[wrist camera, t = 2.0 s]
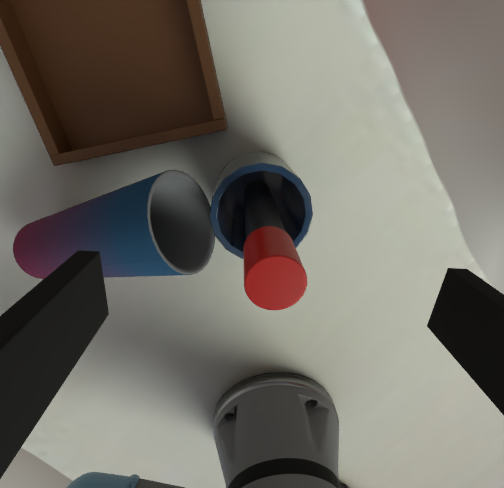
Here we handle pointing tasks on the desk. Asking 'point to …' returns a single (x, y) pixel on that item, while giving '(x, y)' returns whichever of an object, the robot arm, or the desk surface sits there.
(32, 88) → the pen tray
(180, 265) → the cup
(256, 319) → the desk surface
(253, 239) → the marker
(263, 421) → the robot arm
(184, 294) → the desk surface
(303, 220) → the pen cup
